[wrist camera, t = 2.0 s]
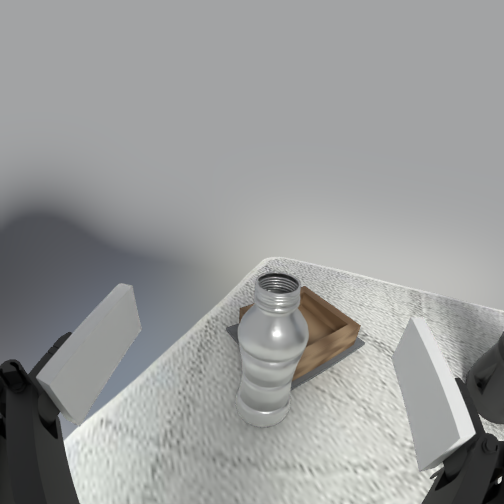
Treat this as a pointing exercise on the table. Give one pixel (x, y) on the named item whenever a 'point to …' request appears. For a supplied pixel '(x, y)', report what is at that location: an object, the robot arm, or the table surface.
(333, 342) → the wooden tray
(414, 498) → the table surface
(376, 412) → the table surface
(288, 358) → the plastic bottle
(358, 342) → the mat
